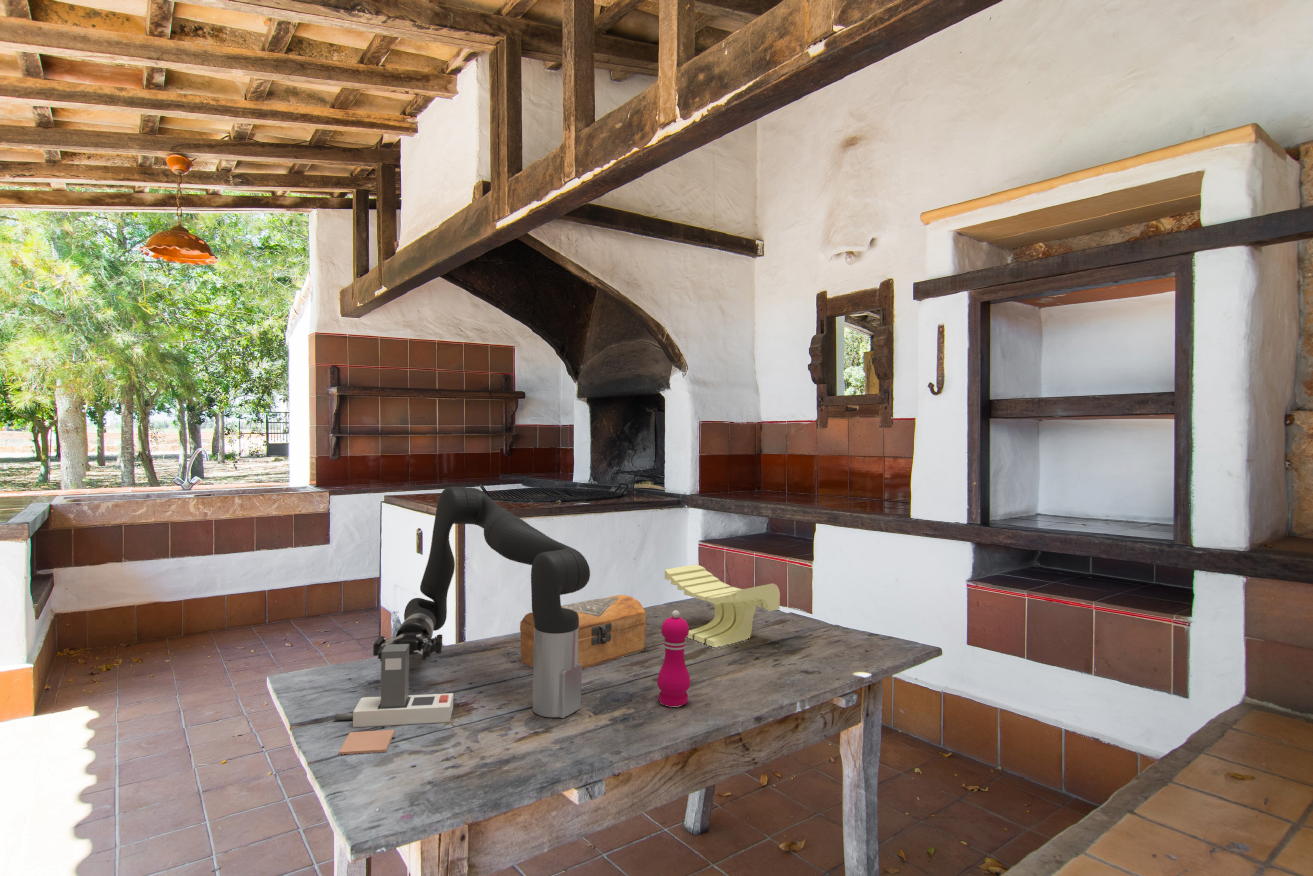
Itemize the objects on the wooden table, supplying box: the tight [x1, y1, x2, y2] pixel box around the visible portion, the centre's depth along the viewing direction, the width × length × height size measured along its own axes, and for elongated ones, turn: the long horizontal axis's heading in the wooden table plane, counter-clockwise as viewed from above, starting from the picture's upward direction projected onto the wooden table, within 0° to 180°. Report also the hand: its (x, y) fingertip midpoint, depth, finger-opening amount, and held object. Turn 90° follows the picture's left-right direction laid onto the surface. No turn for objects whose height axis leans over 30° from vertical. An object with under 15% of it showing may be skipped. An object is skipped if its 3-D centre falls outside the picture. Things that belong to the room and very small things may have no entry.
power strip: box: [334, 692, 454, 728], centre depth 138 cm, size 22×7×4 cm, turn 101°
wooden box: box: [519, 594, 647, 670], centre depth 176 cm, size 30×16×14 cm, turn 133°
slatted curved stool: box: [664, 564, 781, 647], centre depth 195 cm, size 30×16×18 cm, turn 41°
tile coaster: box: [338, 729, 395, 756], centre depth 127 cm, size 8×8×1 cm
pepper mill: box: [656, 609, 691, 706], centre depth 149 cm, size 7×7×20 cm
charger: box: [380, 644, 410, 709], centre depth 137 cm, size 4×5×12 cm
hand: (403, 655), depth 146 cm, fingers open, 8 cm apart
